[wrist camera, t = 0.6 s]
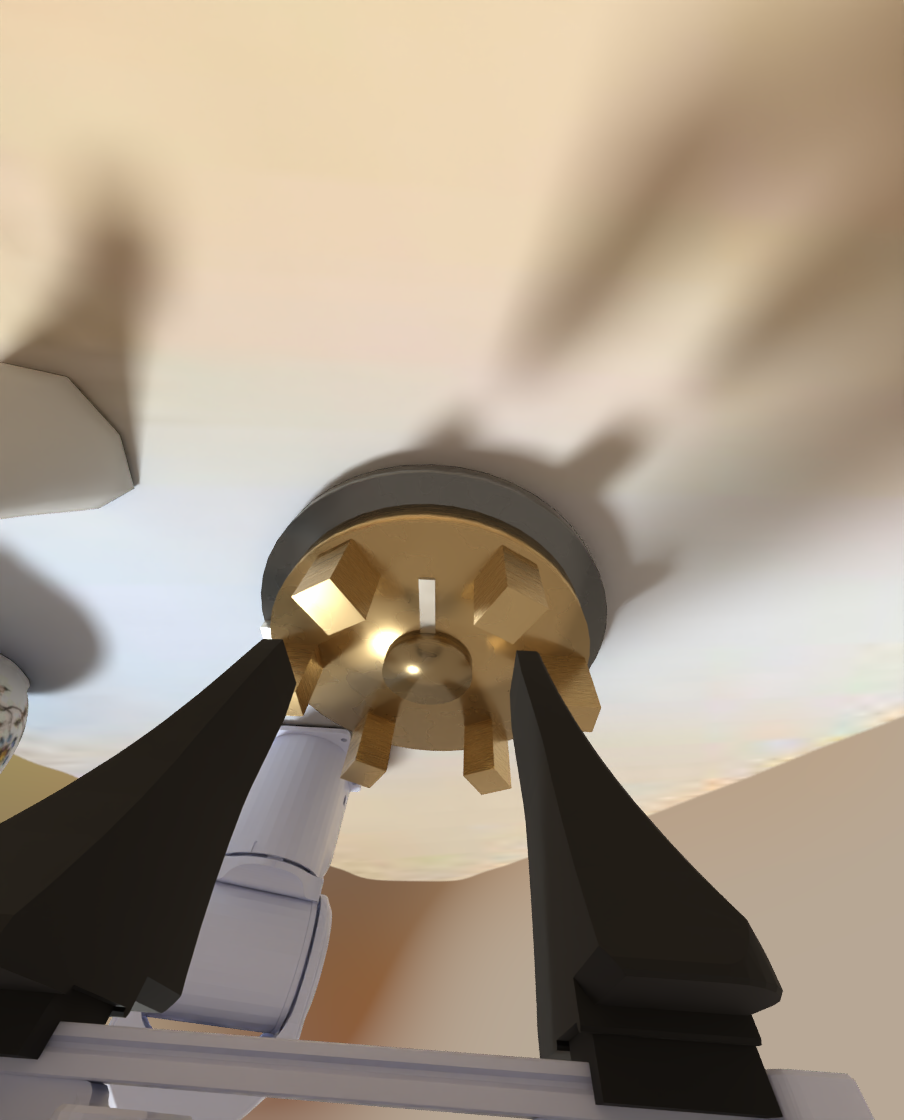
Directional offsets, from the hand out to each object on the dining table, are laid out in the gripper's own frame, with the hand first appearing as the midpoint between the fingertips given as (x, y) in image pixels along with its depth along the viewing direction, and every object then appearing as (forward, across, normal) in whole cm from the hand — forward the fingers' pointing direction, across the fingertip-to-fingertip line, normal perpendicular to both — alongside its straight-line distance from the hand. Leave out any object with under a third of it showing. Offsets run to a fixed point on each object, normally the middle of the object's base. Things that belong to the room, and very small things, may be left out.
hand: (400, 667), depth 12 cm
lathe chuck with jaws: (+9, 0, +8) cm, 12 cm away
